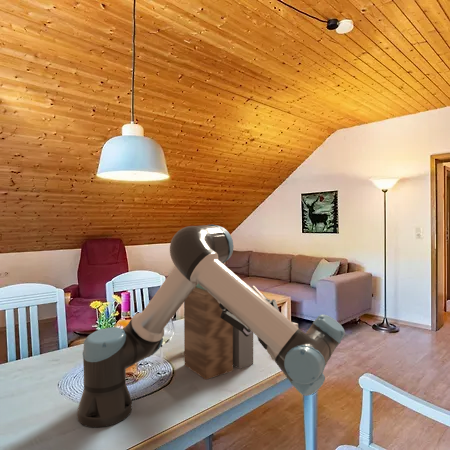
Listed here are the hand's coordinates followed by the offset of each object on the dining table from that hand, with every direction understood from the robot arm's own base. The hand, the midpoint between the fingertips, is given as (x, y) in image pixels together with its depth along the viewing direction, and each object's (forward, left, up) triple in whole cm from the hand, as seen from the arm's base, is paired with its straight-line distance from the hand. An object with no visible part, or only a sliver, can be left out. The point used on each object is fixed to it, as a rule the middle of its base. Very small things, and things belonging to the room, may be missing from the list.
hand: (235, 291), depth 112 cm
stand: (+5, +23, -34) cm, 41 cm away
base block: (+17, +21, -34) cm, 43 cm away
